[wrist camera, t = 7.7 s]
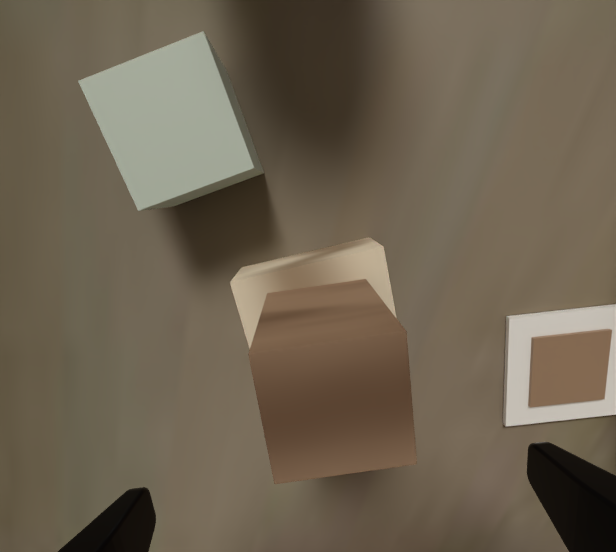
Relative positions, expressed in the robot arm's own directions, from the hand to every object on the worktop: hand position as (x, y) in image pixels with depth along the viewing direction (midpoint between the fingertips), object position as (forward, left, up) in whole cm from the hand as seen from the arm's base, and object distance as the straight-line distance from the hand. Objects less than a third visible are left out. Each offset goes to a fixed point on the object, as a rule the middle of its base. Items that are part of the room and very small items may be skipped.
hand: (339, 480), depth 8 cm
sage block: (+5, -10, -12) cm, 16 cm away
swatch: (-14, +5, -11) cm, 19 cm away
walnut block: (0, 0, -8) cm, 8 cm away
